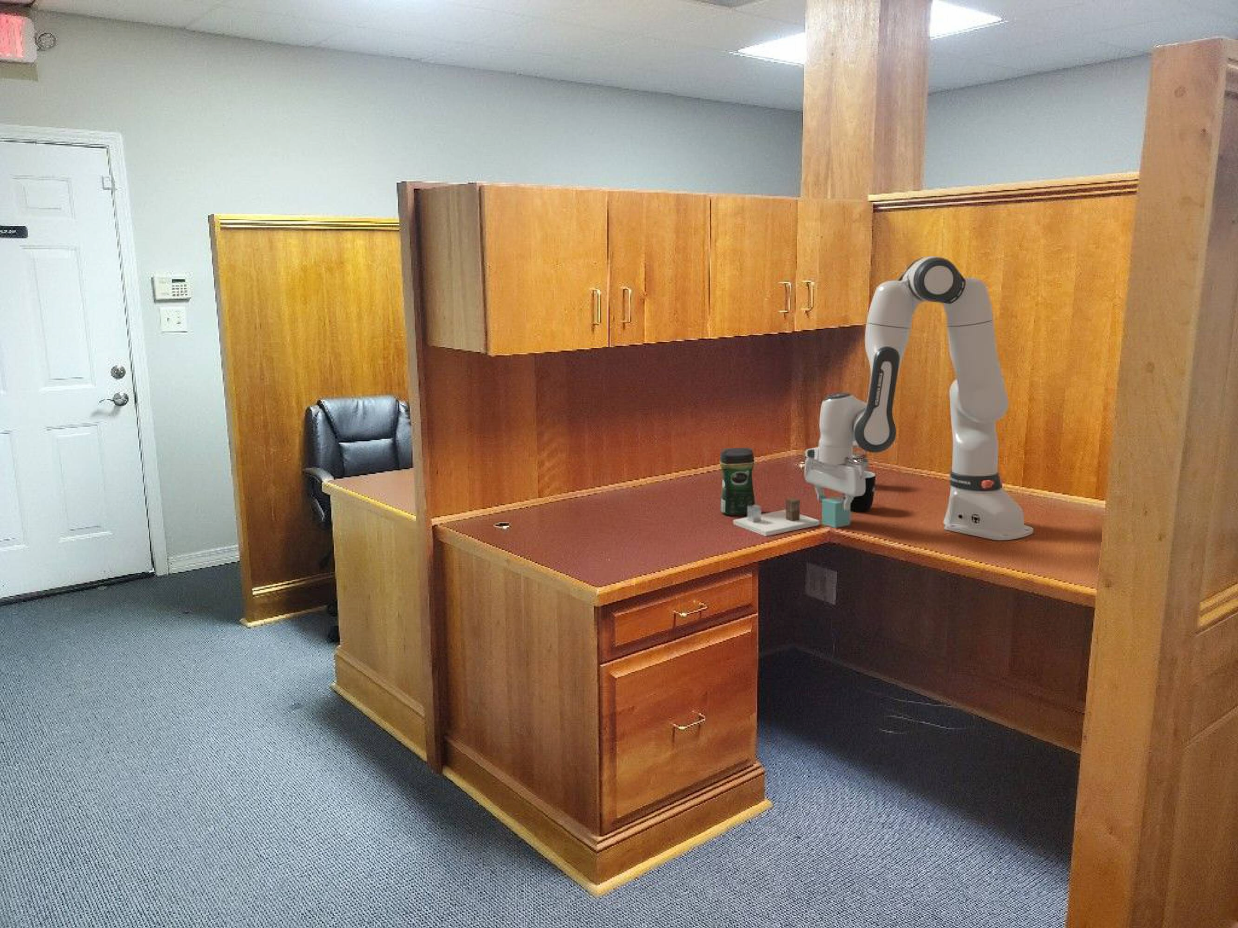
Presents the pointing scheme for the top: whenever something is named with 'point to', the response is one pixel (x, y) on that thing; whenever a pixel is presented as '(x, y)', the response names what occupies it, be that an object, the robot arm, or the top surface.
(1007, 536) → the robot arm
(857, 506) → the mug
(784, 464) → the top surface
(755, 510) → the post
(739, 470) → the coffee jar
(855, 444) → the french press
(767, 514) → the board
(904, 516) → the top surface
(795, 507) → the post
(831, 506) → the turquoise block
